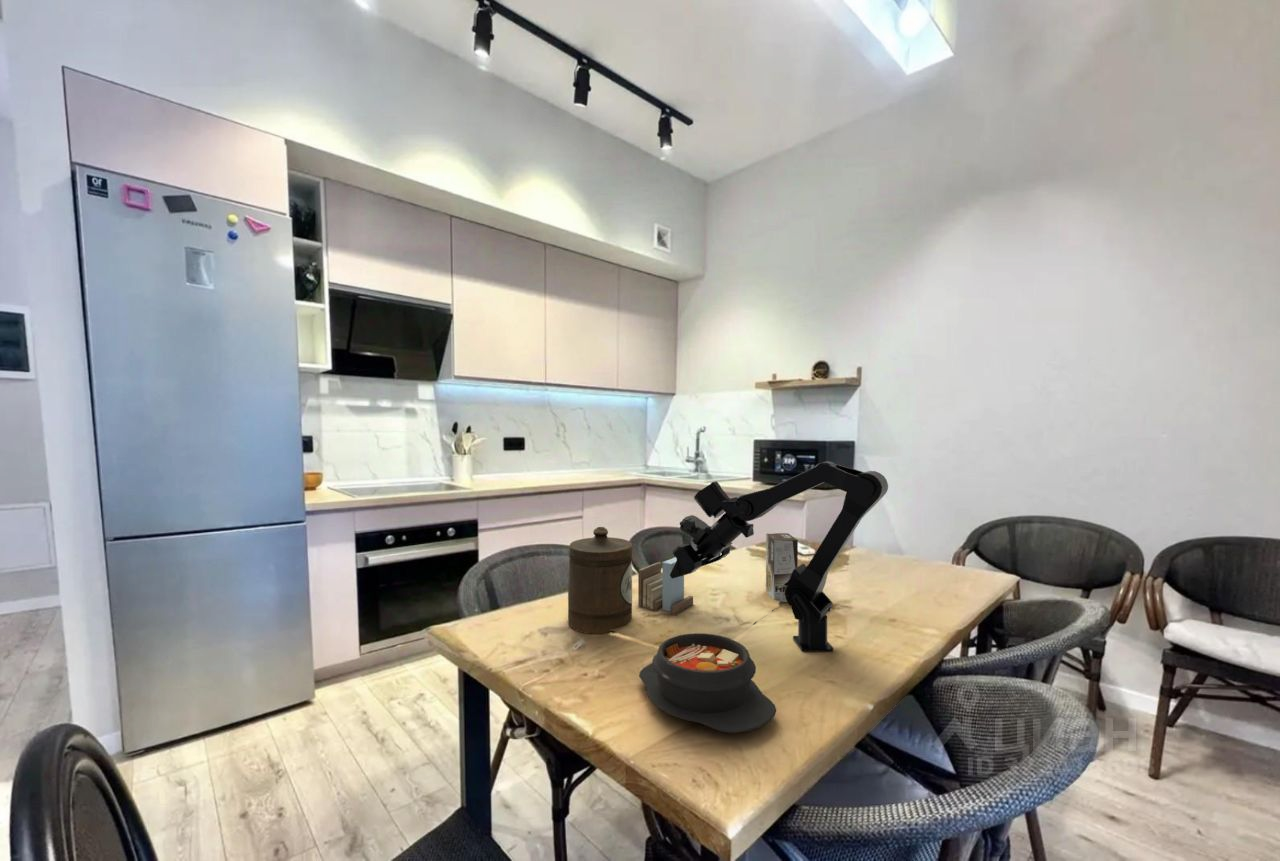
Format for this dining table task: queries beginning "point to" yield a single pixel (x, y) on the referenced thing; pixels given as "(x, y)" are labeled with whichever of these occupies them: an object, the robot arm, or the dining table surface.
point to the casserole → (707, 683)
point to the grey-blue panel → (671, 586)
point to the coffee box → (780, 563)
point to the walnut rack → (657, 591)
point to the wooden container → (600, 583)
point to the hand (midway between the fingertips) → (681, 572)
